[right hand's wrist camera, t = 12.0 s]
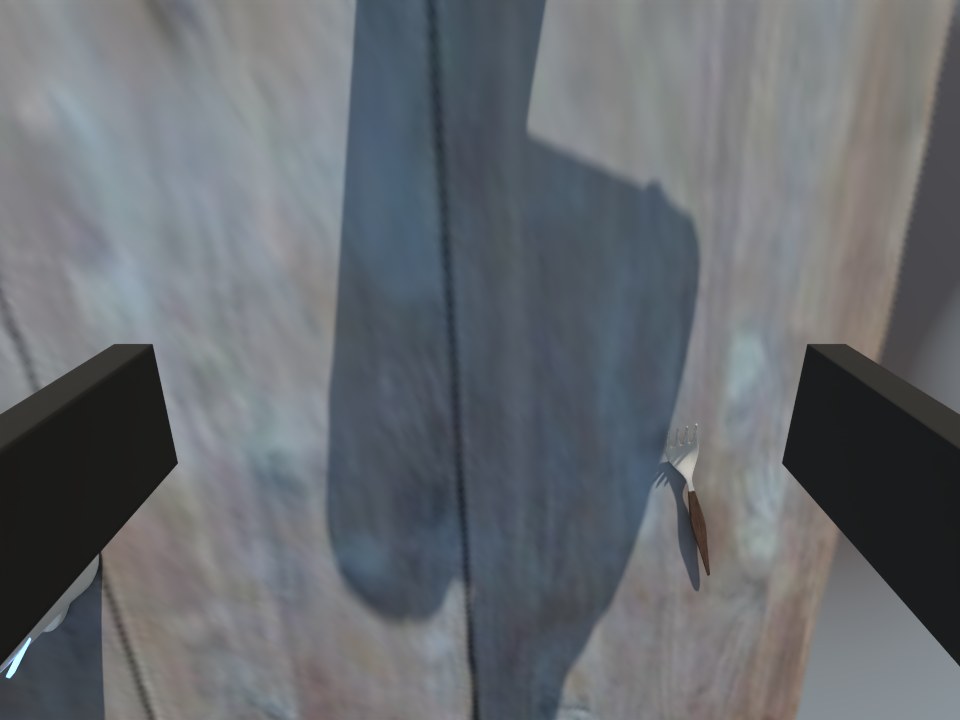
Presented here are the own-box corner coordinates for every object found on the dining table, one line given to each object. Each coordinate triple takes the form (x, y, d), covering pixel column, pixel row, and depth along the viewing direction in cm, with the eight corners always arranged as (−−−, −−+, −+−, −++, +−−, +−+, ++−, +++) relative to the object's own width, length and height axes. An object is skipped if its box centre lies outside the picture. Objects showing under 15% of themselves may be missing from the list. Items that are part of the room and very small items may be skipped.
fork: (691, 574, 53) (699, 591, 52) (658, 420, 48) (665, 432, 46) (721, 567, 53) (729, 584, 51) (691, 411, 48) (699, 423, 46)
